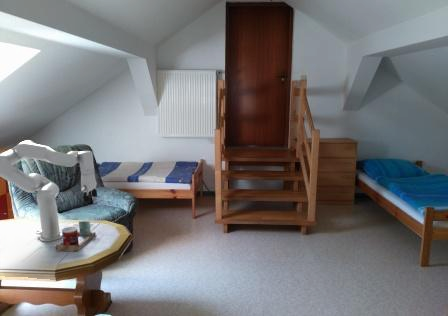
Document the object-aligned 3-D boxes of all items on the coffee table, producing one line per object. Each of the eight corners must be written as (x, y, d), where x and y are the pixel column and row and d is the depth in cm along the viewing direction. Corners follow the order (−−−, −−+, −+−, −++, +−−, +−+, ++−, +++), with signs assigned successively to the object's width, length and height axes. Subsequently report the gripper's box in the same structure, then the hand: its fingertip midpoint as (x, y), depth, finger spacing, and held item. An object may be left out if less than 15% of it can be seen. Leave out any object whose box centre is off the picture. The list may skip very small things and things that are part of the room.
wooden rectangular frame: (55, 250, 194) (53, 235, 192) (76, 233, 216) (75, 220, 215) (76, 251, 193) (75, 236, 191) (95, 234, 215) (94, 220, 213)
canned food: (66, 244, 202) (64, 226, 200) (80, 244, 203) (79, 226, 201) (61, 250, 195) (59, 232, 193) (76, 250, 196) (74, 231, 193)
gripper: (88, 168, 218) (91, 194, 221) (74, 175, 201) (77, 203, 204) (100, 168, 217) (103, 194, 220) (86, 175, 200) (89, 204, 203)
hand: (90, 199), depth 212 cm, fingers open, 9 cm apart
